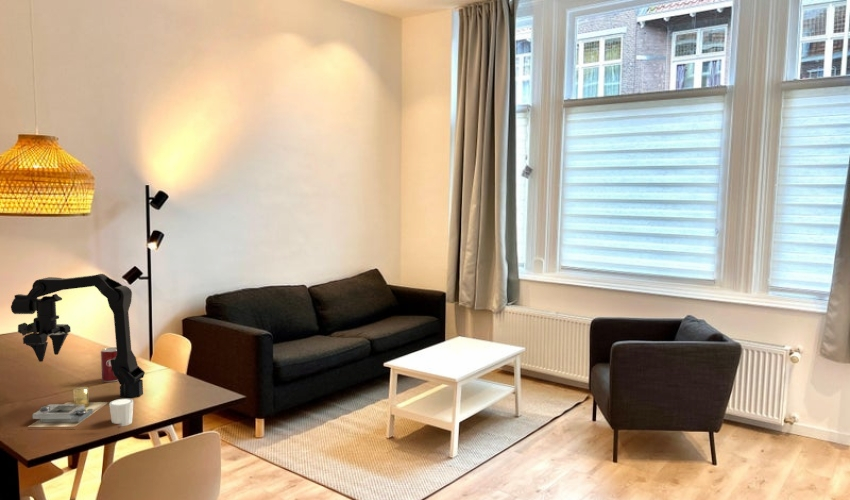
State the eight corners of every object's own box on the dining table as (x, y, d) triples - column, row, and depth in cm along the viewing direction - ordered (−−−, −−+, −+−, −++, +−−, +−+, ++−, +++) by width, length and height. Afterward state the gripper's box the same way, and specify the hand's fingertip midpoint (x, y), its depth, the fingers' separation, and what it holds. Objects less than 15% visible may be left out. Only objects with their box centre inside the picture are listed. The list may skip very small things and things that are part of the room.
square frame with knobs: (93, 413, 199) (92, 402, 199) (78, 423, 190) (78, 412, 190) (49, 413, 198) (48, 402, 198) (32, 423, 190) (32, 412, 189)
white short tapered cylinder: (137, 419, 197) (137, 398, 196) (128, 427, 190) (127, 405, 189) (116, 419, 196) (115, 398, 196) (105, 427, 190) (104, 405, 189)
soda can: (97, 380, 236) (96, 350, 235) (114, 375, 243) (113, 346, 242) (109, 383, 233) (108, 352, 232) (126, 378, 239) (125, 348, 238)
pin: (91, 404, 208) (90, 386, 207) (84, 408, 203) (84, 390, 203) (78, 404, 207) (77, 386, 207) (71, 408, 203) (70, 391, 202)
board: (108, 405, 210) (108, 402, 210) (74, 429, 188) (74, 426, 188) (66, 405, 209) (66, 402, 209) (27, 429, 187) (27, 426, 187)
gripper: (39, 308, 222) (41, 351, 223) (5, 319, 203) (7, 365, 205) (70, 309, 222) (72, 351, 224) (39, 319, 204) (41, 365, 205)
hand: (48, 358), depth 214 cm, fingers open, 9 cm apart
